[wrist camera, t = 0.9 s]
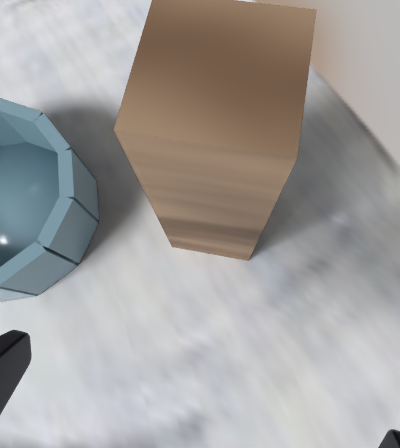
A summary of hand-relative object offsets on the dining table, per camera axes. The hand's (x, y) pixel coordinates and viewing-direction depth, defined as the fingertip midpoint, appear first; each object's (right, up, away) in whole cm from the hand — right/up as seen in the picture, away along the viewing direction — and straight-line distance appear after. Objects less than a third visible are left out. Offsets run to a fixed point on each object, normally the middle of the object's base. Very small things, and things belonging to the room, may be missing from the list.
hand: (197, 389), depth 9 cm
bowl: (-13, +5, +16) cm, 21 cm away
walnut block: (+1, +4, +15) cm, 16 cm away
